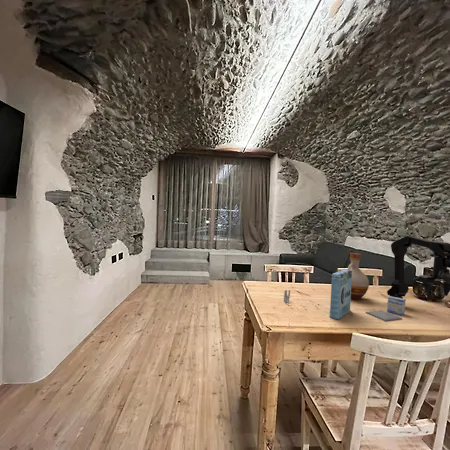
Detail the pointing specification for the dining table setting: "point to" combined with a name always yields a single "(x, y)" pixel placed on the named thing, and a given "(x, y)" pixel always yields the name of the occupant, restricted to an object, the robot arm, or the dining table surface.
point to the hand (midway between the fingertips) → (437, 295)
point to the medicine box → (396, 305)
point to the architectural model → (286, 296)
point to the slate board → (383, 315)
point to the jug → (357, 278)
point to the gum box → (340, 294)
